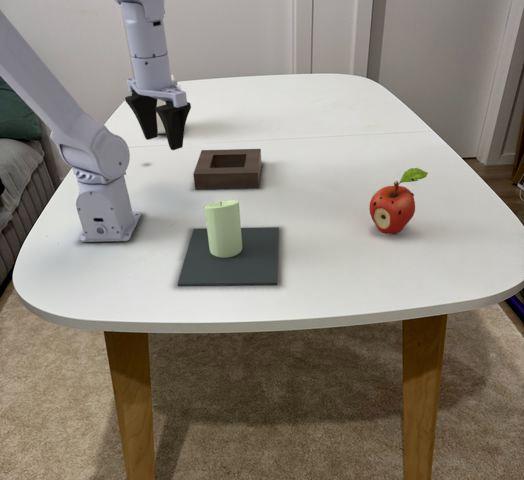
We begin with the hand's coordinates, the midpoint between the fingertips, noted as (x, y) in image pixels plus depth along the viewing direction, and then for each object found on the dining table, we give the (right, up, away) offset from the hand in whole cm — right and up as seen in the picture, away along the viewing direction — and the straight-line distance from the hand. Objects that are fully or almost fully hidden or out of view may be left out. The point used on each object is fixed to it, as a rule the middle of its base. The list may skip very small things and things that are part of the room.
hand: (163, 143), depth 88 cm
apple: (+38, -17, -7) cm, 42 cm away
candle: (+12, -21, -10) cm, 26 cm away
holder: (+11, -2, +12) cm, 16 cm away
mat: (+12, -22, -11) cm, 27 cm away
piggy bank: (-6, +16, +33) cm, 37 cm away
